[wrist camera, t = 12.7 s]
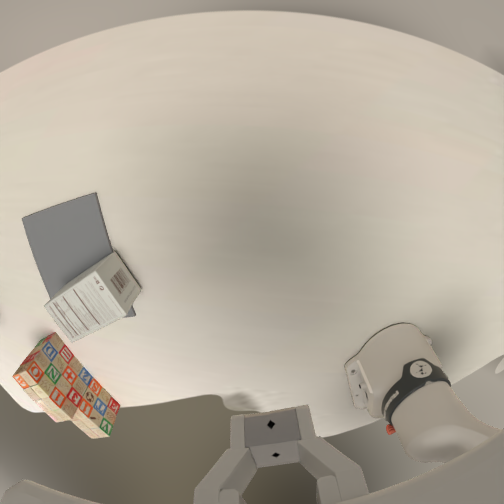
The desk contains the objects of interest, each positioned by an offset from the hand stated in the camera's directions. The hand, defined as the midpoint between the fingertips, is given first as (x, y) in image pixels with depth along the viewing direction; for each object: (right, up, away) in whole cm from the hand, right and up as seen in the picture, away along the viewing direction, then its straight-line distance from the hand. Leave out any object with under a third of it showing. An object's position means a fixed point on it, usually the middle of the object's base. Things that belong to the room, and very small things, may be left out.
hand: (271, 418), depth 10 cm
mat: (-29, +4, +30) cm, 42 cm away
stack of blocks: (-36, -19, +39) cm, 57 cm away
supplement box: (-18, +3, +27) cm, 33 cm away
